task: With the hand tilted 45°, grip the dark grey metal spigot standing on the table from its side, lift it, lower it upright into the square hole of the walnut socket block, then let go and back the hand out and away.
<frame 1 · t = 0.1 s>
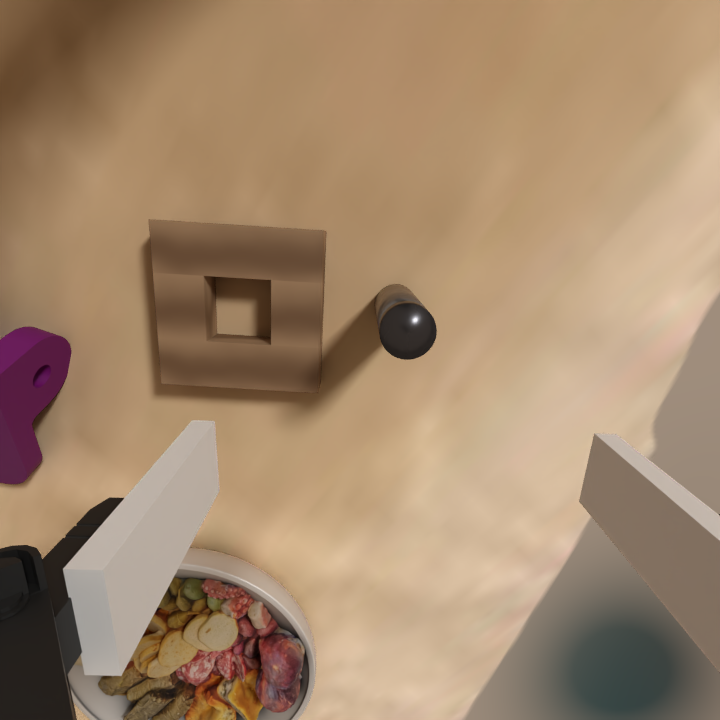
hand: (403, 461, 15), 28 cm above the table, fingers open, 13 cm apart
bowl: (201, 630, 54), on the table
mounting bracket: (17, 394, 45), on the table
socket block: (246, 305, 41), on the table
spigot: (395, 304, 41), on the table
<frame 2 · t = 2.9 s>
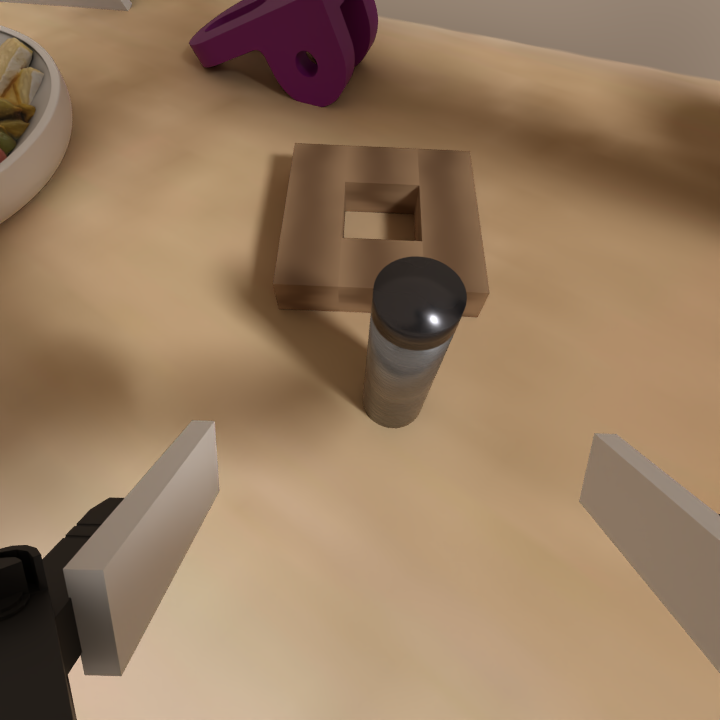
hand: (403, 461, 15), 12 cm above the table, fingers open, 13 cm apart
grey piece: (66, 4, 52), on the table
mounting bracket: (279, 72, 47), on the table
socket block: (379, 238, 35), on the table
spigot: (392, 399, 29), on the table
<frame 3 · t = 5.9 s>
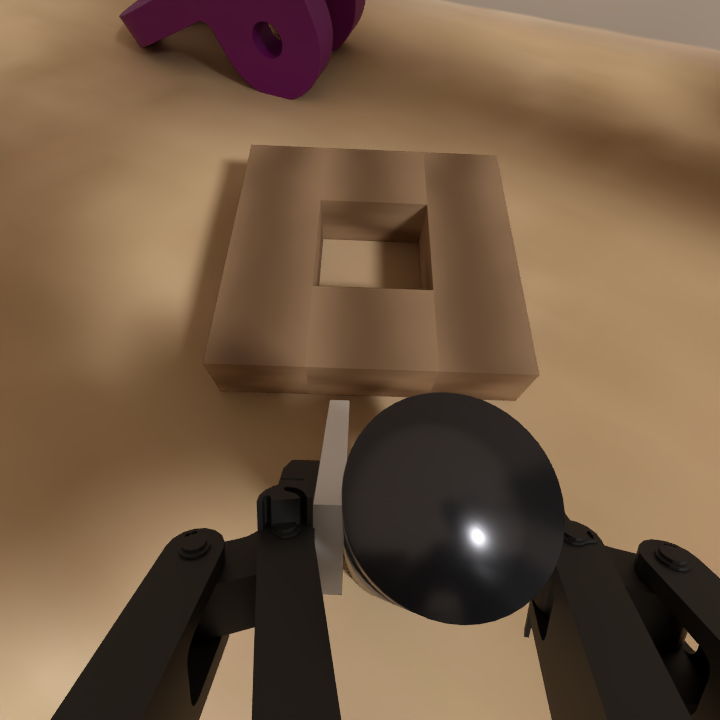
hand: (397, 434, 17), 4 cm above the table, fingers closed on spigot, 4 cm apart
mounting bracket: (241, 55, 37), on the table
socket block: (370, 278, 25), on the table
spigot: (389, 546, 18), on the table, touching gripper
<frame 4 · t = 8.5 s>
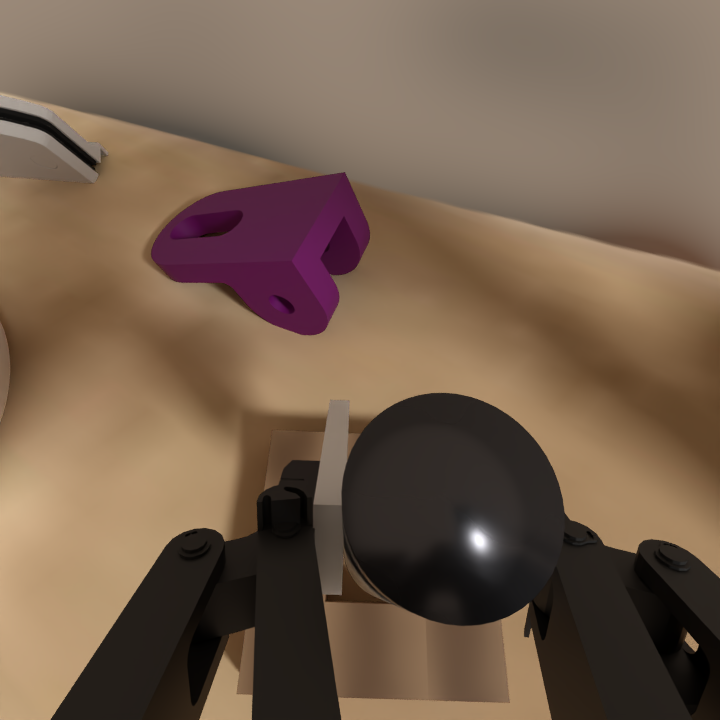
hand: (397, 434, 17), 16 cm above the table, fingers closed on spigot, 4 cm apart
grey piece: (25, 173, 46), on the table
mounting bracket: (257, 274, 41), on the table
socket block: (372, 552, 29), on the table
spigot: (389, 546, 18), point 12 cm above the table, touching gripper
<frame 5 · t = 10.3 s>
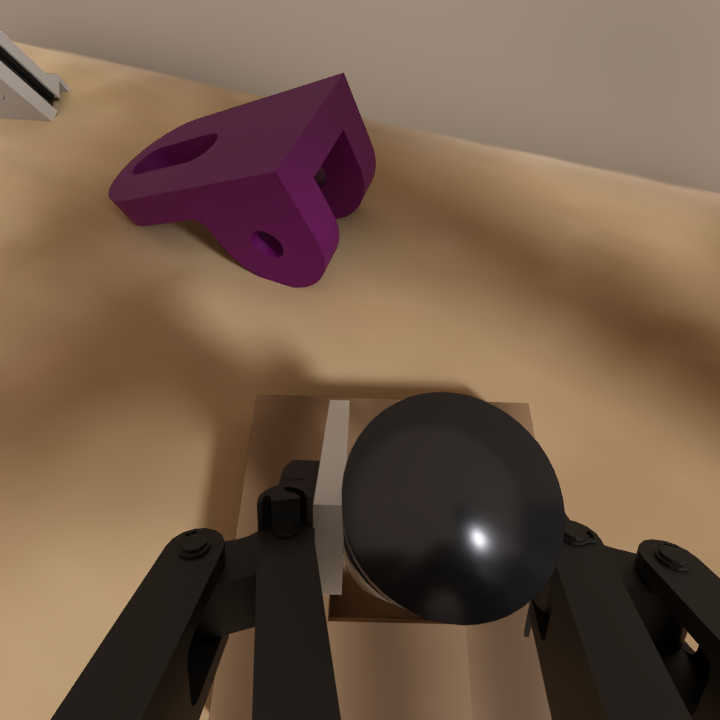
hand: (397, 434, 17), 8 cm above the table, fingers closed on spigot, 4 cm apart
mounting bracket: (240, 220, 34), on the table
socket block: (389, 551, 22), on the table
spigot: (389, 546, 18), point 5 cm above the table, touching gripper
when the fingers open (5 cm above the table, at t = 11.4 s): spigot drops 1 cm, resting in socket block.
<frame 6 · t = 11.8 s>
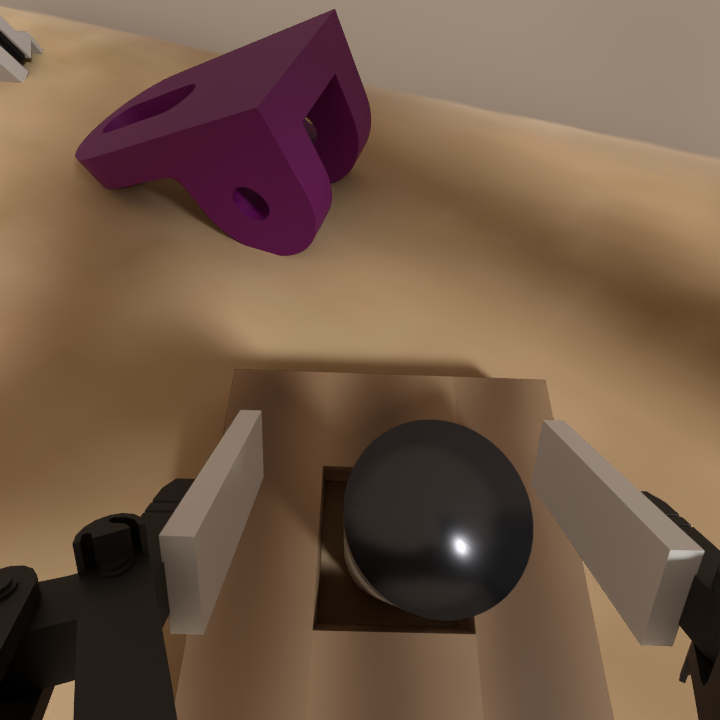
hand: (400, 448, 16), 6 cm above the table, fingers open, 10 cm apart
mounting bracket: (223, 186, 31), on the table
socket block: (386, 548, 20), on the table
spigot: (387, 549, 20), resting in socket block
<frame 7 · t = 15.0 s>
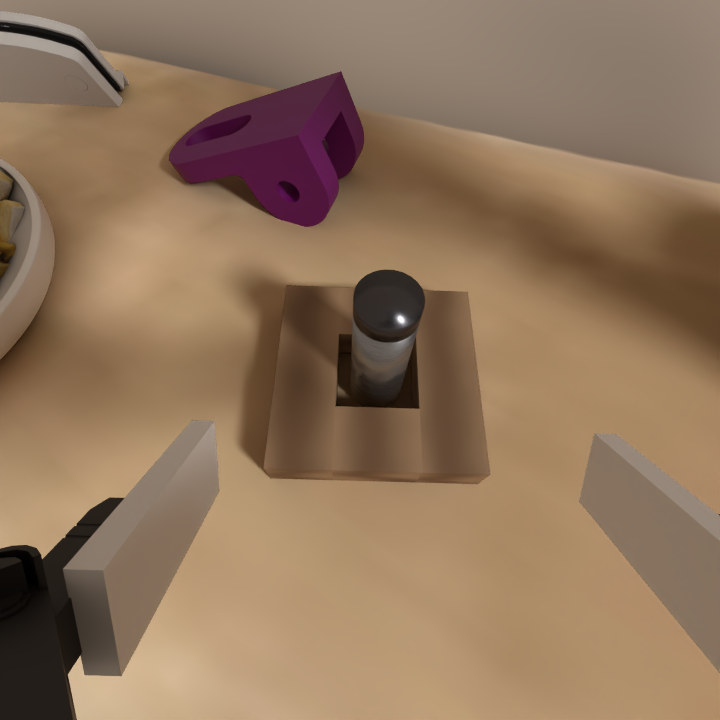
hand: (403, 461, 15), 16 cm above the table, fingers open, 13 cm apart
grey piece: (55, 101, 51), on the table
mounting bracket: (263, 181, 45), on the table
socket block: (374, 386, 34), on the table
spigot: (375, 386, 34), resting in socket block
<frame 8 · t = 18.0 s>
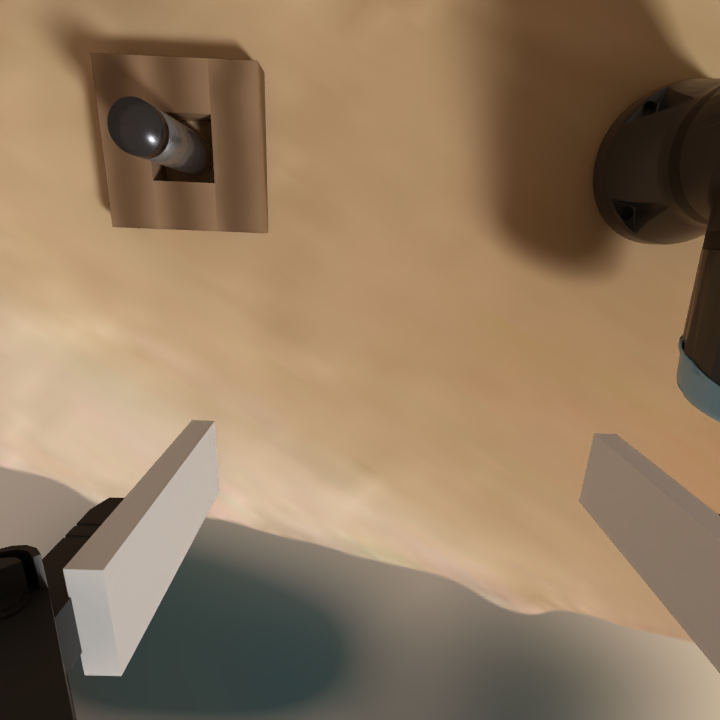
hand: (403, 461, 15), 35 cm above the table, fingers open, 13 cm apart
socket block: (192, 153, 43), on the table
spigot: (193, 153, 43), resting in socket block
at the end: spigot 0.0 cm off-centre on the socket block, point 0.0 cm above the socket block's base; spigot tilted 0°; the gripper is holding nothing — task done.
